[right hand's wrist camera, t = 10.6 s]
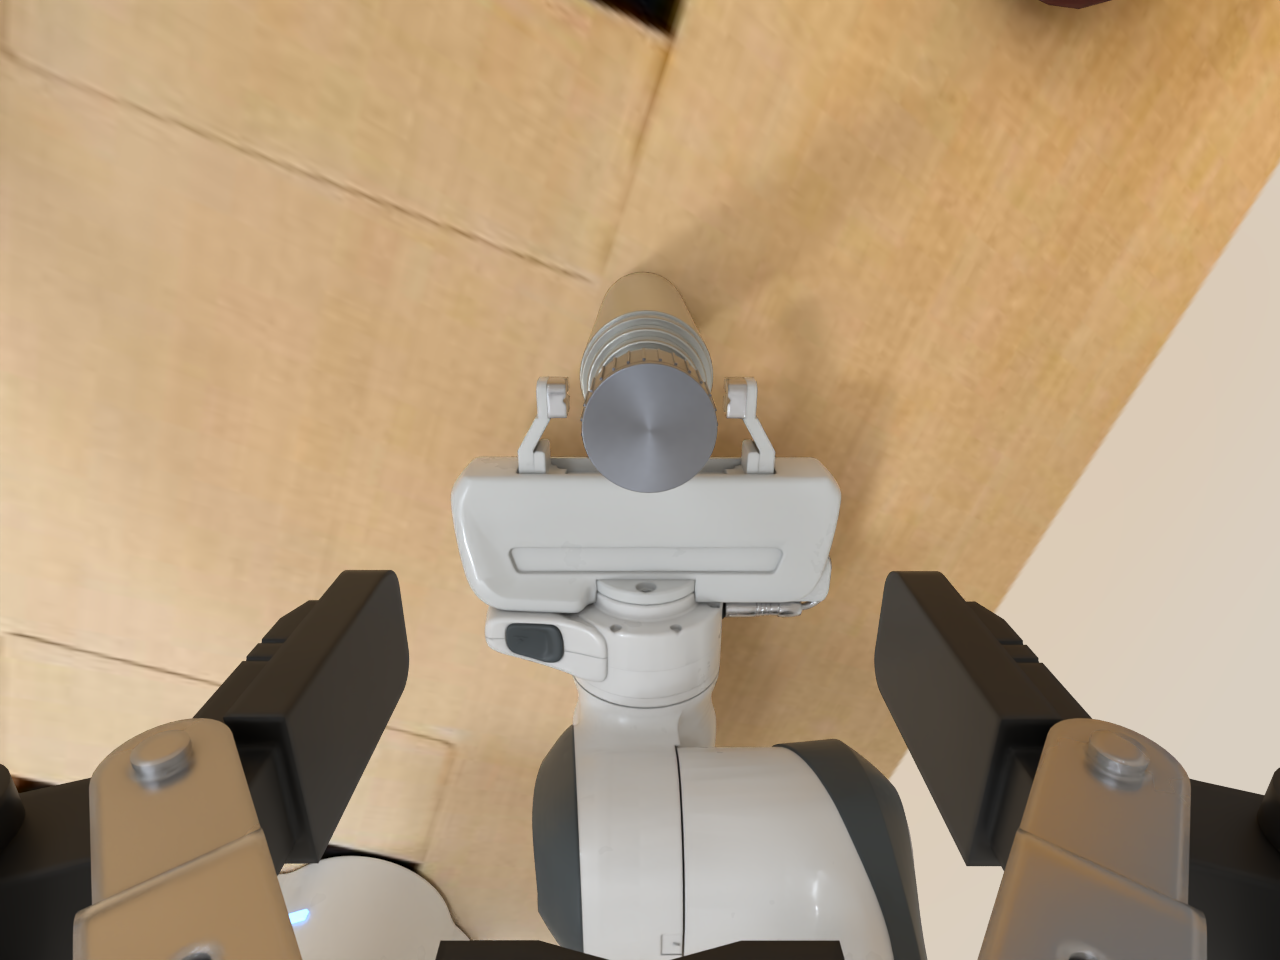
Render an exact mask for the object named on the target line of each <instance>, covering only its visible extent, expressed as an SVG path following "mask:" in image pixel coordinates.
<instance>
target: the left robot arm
mask: <svg viewBox="0 0 1280 960" xmlns="http://www.w3.org/2000/svg"><path fill="white" fill-rule="evenodd" d="M568 390H569V378H568V377H539V379H538V381H537V389H536V393H537V415H536V417H535V419H534V421H533V423H532V425H531V426H530V428H529V430H528V432H527V434H526V436H525V438H524V439H523V441H522V443H521V445H520V447H519V449H518V457H477V458H475V459H473V460H472V461H471V462H470V463H469V464H468V465H467V466H466V467H465V468H464V470H463V471H462V472H461V473H460V475H459V476H458V478H457V479H456V481H455V483H454V485H453V488H452V492H451V508H452V516H453V523H454V529H455V534H456V539H457V544H458V549H459V553H460V557H461V561H462V564H463V568H464V572H465V575H466V578H467V580H468V583H469V585H470V587H471V589H472V590H473V592H474V593H475V594H476V596H477V597H478V598H479V599H480V600H481V601H483V602H484V603H486V604H487V605H489V607H488V611H487V616H486V623H485V638H486V642H487V644H488V646H489V647H490V648H491V649H493V650H495V651H497V652H500V653H503V654H506V655H510V656H514V657H518V658H521V659H525V660H529V661H532V662H536V663H539V664H543V665H546V666H549V667H552V668H555V669H558V670H561V671H563V672H566V673H569V674H571V675H572V676H573V679H574V682H575V684H576V687H577V691H578V700H577V703H576V706H575V710H574V714H573V725H571V726H570V727H569V728H568V729H567V730H566V731H565V732H564V733H563V734H562V735H561V736H560V738H559V739H558V740H557V742H556V743H555V744H554V746H553V747H552V749H551V750H550V751H549V753H548V754H547V756H546V757H545V758H544V760H543V762H542V764H541V766H540V769H539V772H538V775H537V779H536V784H535V789H534V797H533V811H532V828H533V846H534V859H535V870H536V880H537V892H538V912H539V914H540V915H541V917H542V919H543V920H544V922H545V924H546V926H547V927H548V929H549V930H550V932H551V933H552V935H553V936H554V938H555V939H556V941H557V942H558V944H559V945H560V946H561V947H564V948H568V949H572V950H575V951H579V952H583V953H586V954H590V955H594V956H597V957H601V958H605V959H608V960H672V959H675V958H679V957H683V956H686V955H690V954H694V953H697V952H701V951H705V950H708V949H712V948H716V947H719V946H723V945H727V944H730V943H734V942H738V941H741V940H840V944H841V948H842V951H843V955H844V959H845V960H927V956H926V950H925V945H924V939H923V933H922V926H921V918H920V911H919V902H918V894H917V886H916V878H915V870H914V859H913V850H912V843H911V837H910V832H909V828H908V824H907V820H906V816H905V812H904V809H903V805H902V802H901V799H900V797H899V795H898V792H897V791H896V789H895V787H894V786H893V785H892V784H891V783H890V782H889V780H888V779H887V778H886V777H885V776H884V775H883V774H882V773H881V772H880V771H879V770H878V769H876V768H875V767H874V766H873V765H872V764H871V763H870V762H868V761H867V760H866V759H865V758H863V757H862V756H861V755H860V754H858V753H857V752H856V751H854V750H853V749H852V748H850V747H849V746H847V745H846V744H844V743H843V742H841V741H840V740H837V739H827V740H817V741H807V742H796V743H785V744H777V745H773V746H772V747H715V740H716V714H715V710H714V707H713V704H712V699H711V695H712V691H713V689H714V687H715V684H716V682H717V679H718V674H719V668H720V651H721V633H722V619H723V618H724V617H755V616H756V617H757V616H765V615H766V616H767V615H774V616H778V617H794V616H799V615H801V613H802V610H806V609H809V608H812V607H814V606H815V605H817V604H818V603H820V602H821V601H823V600H824V599H825V598H826V596H827V594H828V591H829V585H830V577H831V569H832V564H831V559H830V556H829V552H830V549H831V545H832V542H833V538H834V534H835V530H836V525H837V521H838V516H839V510H840V504H841V491H840V488H839V485H838V483H837V482H836V480H835V478H834V477H833V475H832V474H831V473H830V472H829V471H828V469H827V468H826V467H825V466H824V465H823V464H822V463H821V462H820V461H819V460H817V459H815V458H811V457H775V450H774V448H773V447H772V445H771V443H770V441H769V439H768V437H767V435H766V433H765V431H764V429H763V427H762V425H761V424H760V422H759V420H758V418H757V416H756V404H757V382H756V380H755V379H754V378H753V377H725V379H724V390H725V392H726V394H725V395H724V396H723V410H724V412H725V415H726V417H727V418H741V419H743V421H744V423H745V425H746V427H747V428H748V430H749V432H750V434H751V436H752V438H753V441H752V440H751V439H745V440H743V441H742V455H741V457H710V458H709V460H708V461H707V463H706V464H705V466H704V467H703V468H702V469H701V470H700V471H699V473H698V474H697V475H695V476H694V477H693V478H692V479H690V480H689V481H688V482H686V483H684V484H683V485H681V486H678V487H676V488H674V489H671V490H668V491H663V492H657V493H641V492H635V491H631V490H627V489H624V488H622V487H620V486H617V485H616V484H614V483H612V482H611V481H609V480H608V479H607V478H605V477H604V476H603V475H602V474H601V473H600V472H599V471H598V470H597V469H596V468H595V466H594V465H593V464H592V462H591V460H590V459H589V457H551V455H550V441H549V440H548V439H541V440H539V439H540V437H541V436H542V434H543V432H544V430H545V428H546V426H547V424H548V423H549V421H550V419H551V418H567V415H568V412H569V409H570V397H569V395H568V394H567V392H568ZM801 601H807V602H804V603H801ZM277 878H278V881H279V884H280V887H281V891H282V894H283V897H284V901H285V904H286V907H287V911H288V914H289V917H290V920H291V924H292V927H293V930H294V934H295V937H296V940H297V943H298V947H299V950H300V953H301V957H302V960H435V959H436V955H437V951H438V948H439V944H440V940H470V939H469V938H468V937H467V936H466V935H465V934H464V933H463V932H462V931H461V930H460V929H459V928H458V927H457V926H456V925H455V924H454V922H453V920H452V918H451V915H450V912H449V909H448V907H447V905H446V903H445V901H444V899H443V898H442V896H441V895H440V894H439V892H438V891H437V890H436V889H435V888H434V887H433V886H432V885H431V884H430V883H429V882H428V881H426V880H425V879H424V878H422V877H421V876H419V875H418V874H416V873H414V872H413V871H411V870H409V869H407V868H405V867H403V866H400V865H398V864H395V863H392V862H389V861H385V860H381V859H377V858H371V857H363V856H339V857H332V858H327V859H323V860H320V861H319V863H311V864H308V865H306V866H304V867H302V868H300V869H298V870H296V871H294V872H291V873H288V874H278V876H277Z"/></svg>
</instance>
